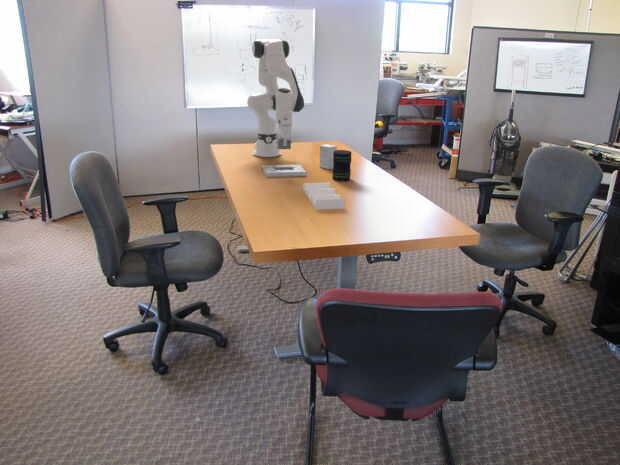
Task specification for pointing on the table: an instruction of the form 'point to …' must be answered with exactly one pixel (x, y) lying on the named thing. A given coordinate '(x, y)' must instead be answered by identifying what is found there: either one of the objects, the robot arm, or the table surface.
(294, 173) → the chassis
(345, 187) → the table surface
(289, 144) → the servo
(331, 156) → the small box
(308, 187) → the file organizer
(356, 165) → the table surface
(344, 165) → the dark ribbed barrel
